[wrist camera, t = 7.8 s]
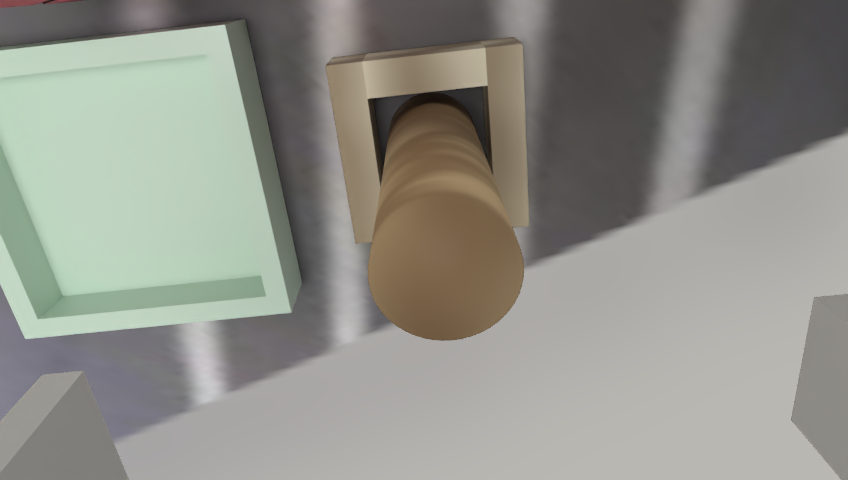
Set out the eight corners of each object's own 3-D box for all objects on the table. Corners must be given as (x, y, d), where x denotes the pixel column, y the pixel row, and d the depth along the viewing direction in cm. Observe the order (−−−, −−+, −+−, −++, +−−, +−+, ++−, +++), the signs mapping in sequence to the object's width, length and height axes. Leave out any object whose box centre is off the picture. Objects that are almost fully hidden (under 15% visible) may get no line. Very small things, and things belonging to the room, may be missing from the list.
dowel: (471, 87, 27) (520, 193, 14) (477, 171, 29) (526, 332, 16) (383, 97, 27) (356, 210, 15) (394, 180, 29) (379, 346, 16)
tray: (245, 18, 26) (225, 24, 23) (302, 282, 31) (291, 312, 28) (-47, 52, 26) (-101, 62, 24) (58, 307, 32) (25, 339, 29)
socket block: (513, 37, 26) (522, 43, 24) (520, 206, 30) (529, 225, 27) (333, 57, 27) (325, 65, 24) (360, 222, 30) (355, 243, 28)
